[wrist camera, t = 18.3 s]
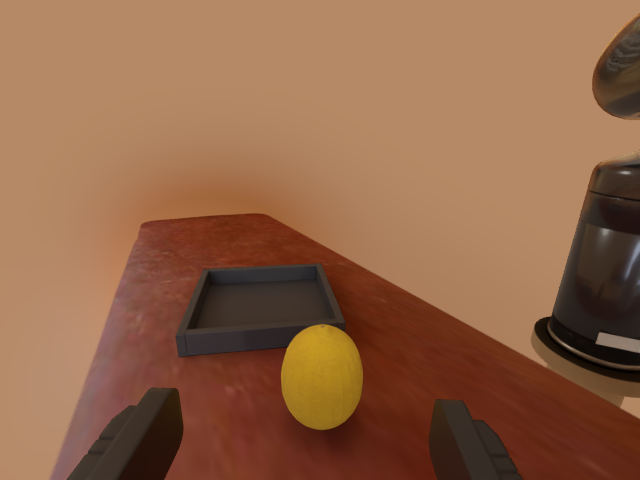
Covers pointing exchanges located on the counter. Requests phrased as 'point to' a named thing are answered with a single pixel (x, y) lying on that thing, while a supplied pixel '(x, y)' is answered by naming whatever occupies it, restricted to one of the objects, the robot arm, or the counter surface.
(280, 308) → the dark grey tray
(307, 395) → the lemon
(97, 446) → the robot arm
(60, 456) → the counter surface
